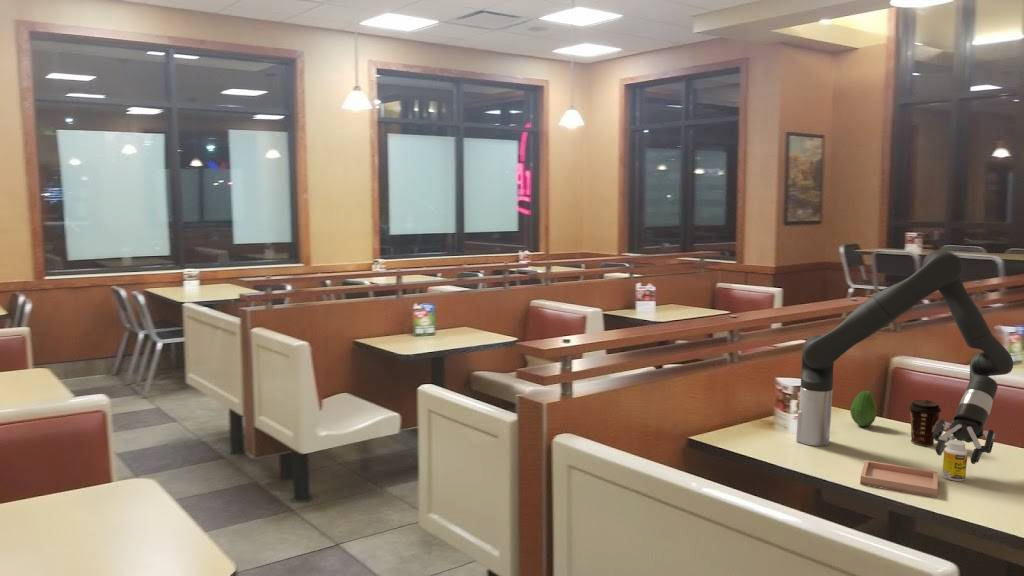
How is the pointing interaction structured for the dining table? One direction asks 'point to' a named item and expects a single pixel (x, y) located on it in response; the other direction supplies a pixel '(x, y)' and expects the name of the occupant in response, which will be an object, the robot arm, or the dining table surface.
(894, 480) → the tray
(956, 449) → the supplement bottle
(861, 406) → the avocado
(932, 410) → the coffee cup
